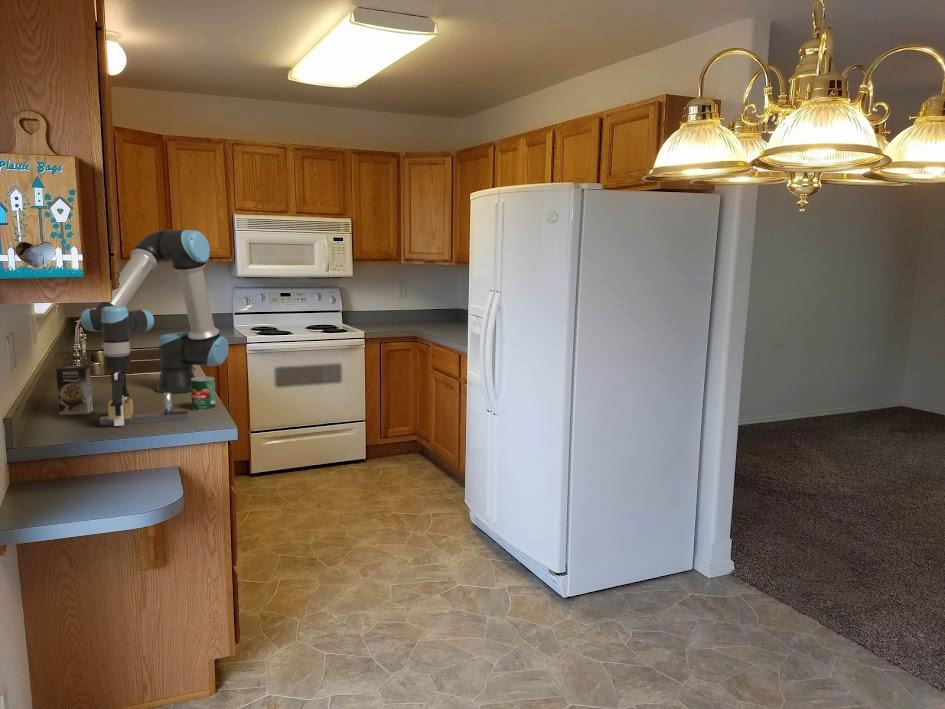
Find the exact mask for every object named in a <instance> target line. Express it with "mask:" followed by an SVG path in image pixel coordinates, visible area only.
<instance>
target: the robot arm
mask: <svg viewBox="0 0 945 709" xmlns="http://www.w3.org/2000/svg"><path fill="white" fill-rule="evenodd" d="M210 253H211V250H210V244H209V241H208V239H207V238H206V236H205V234H203V233H202V232H201V231H198V230H192V229H160V230H156V231H153V232H151V233H149V234H148V235H145V237H144V238H142V239H141V240H140V241H139V242H138V243H137V244H136V245H135V246H134V247H133V248H132V250H131V251H130V259H129V260H128V261H127V263H126V264H125V266H124V267H123V268H122V269H121V271H120V272H119V274H120V277H119V283H120V285H119V288H118V289H115V290H113V291H112V301H111V302H110V303H107V302H100V301H98V304H97V305H96V306H95V308H87V309H86V310H84V311H82V313H81V316H80V324H81V326H82V328H84V330H86V331H90V332H96V333H102V338H103V339H102V343H103V344H102V345H101V349H103V354H104V355H105V356H104V357H103V361H104V362H103V363H104V367H105V368H107V369H112V372H111V373H110V377H111V400H112V403H111V404H110V406H113V411H114V425H113V426H114V427H117V426H119V427H121V426H125V424H124V413H123V405H122V395H124V400H125V399H128V397H130V393H129V392H128V386H127V372H126V368H128V367H130V366H132V362H131V360H132V359H131V355H130V353H131V342H130V341H131V340H130V335H132V334H138V333H144V332H149V331H150V330H152V328H153V327H154V325H155V324H154V323H155V318H154V316H153V314H152V312H151V311H150V310H147V309H136V310H135V309H132V310H131V309H128V308H127V305H128V304H129V302H130V301H131V299H132V298H133V297H134V295H135V293H136V291H138V289H139V288H140V286H141V284H142V283H143V282H144V280H145V279H146V277H147V276H148V274H149V273H150V271H151V270H154V269H155V268H157V266H158V265H159V264H160V263H164V262H170V263H171V266H172V269H173V270H174V271H176V272H177V273H178V277H179V281H180V286H181V289H182V296H183V299H184V304H185V309H186V314H187V318H188V321H189V327H190V331H181V332H174V333H173V332H171V333H166V334H165V333H164V334H162V335H161V336H160V337H159V339H158V340H159V342H158V344H159V345H158V348H159V363H160V373H159V376H158V381H157V384H156V391H157V392H158V393H162V394H163V393H166V392H171V394H179V393H180V394H182V393H189V392H192V390H191V379H192V378H195V377H196V376H195V373H194V370H193V366H207V367H213V366H216V367H217V366H218V367H219V366H220V365H222V364H224V362H225V361H226V359H227V356H228V355H229V354H228V353H229V341H228V339H227V338H226V337H224V336H222V335H221V334H220V329H219V328H217V327H215V324H214V323H215V322H214V319H213V314H212V309H211V304H210V299H209V295H208V289H207V284H206V280H205V275H204V274H205V273H204V268H205V267H206V265H207V261H208V260H209V258H210Z"/></svg>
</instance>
